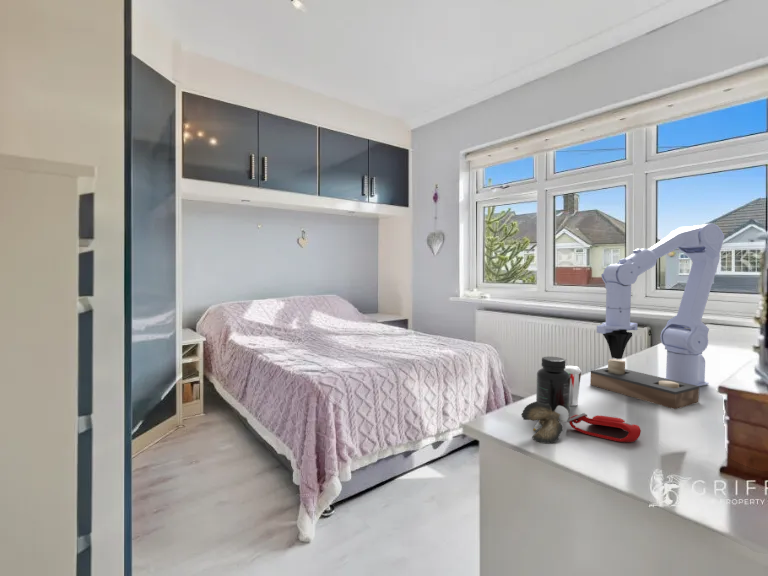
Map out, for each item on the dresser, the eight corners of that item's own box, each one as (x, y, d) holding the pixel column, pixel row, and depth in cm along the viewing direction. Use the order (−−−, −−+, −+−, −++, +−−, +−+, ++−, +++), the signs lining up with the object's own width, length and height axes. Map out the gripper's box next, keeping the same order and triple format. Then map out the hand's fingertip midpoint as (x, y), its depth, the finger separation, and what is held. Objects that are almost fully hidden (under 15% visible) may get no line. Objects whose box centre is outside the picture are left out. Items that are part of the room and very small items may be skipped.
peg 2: (664, 394, 97) (664, 379, 97) (682, 398, 94) (682, 384, 93) (654, 396, 95) (655, 381, 95) (672, 401, 92) (673, 386, 92)
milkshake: (574, 399, 95) (575, 359, 95) (583, 407, 90) (584, 364, 89) (555, 399, 96) (556, 359, 95) (563, 406, 90) (564, 364, 90)
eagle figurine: (524, 415, 82) (511, 421, 75) (546, 390, 80) (534, 393, 73) (555, 443, 78) (544, 452, 71) (578, 417, 76) (570, 423, 69)
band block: (613, 380, 112) (613, 366, 112) (698, 402, 93) (699, 386, 93) (590, 384, 107) (590, 370, 107) (674, 409, 89) (675, 392, 88)
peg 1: (613, 371, 109) (614, 358, 108) (628, 374, 105) (628, 361, 105) (604, 373, 107) (604, 360, 107) (618, 376, 103) (619, 363, 103)
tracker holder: (605, 415, 83) (651, 421, 73) (605, 437, 81) (652, 446, 72) (560, 409, 79) (603, 414, 70) (560, 432, 78) (603, 440, 69)
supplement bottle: (560, 406, 91) (561, 355, 90) (575, 417, 84) (576, 362, 84) (531, 406, 91) (532, 355, 90) (544, 417, 84) (545, 362, 83)
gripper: (620, 305, 112) (618, 352, 113) (586, 308, 105) (585, 357, 106) (646, 308, 106) (644, 357, 106) (611, 310, 99) (610, 363, 100)
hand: (616, 358), depth 106 cm, fingers closed
